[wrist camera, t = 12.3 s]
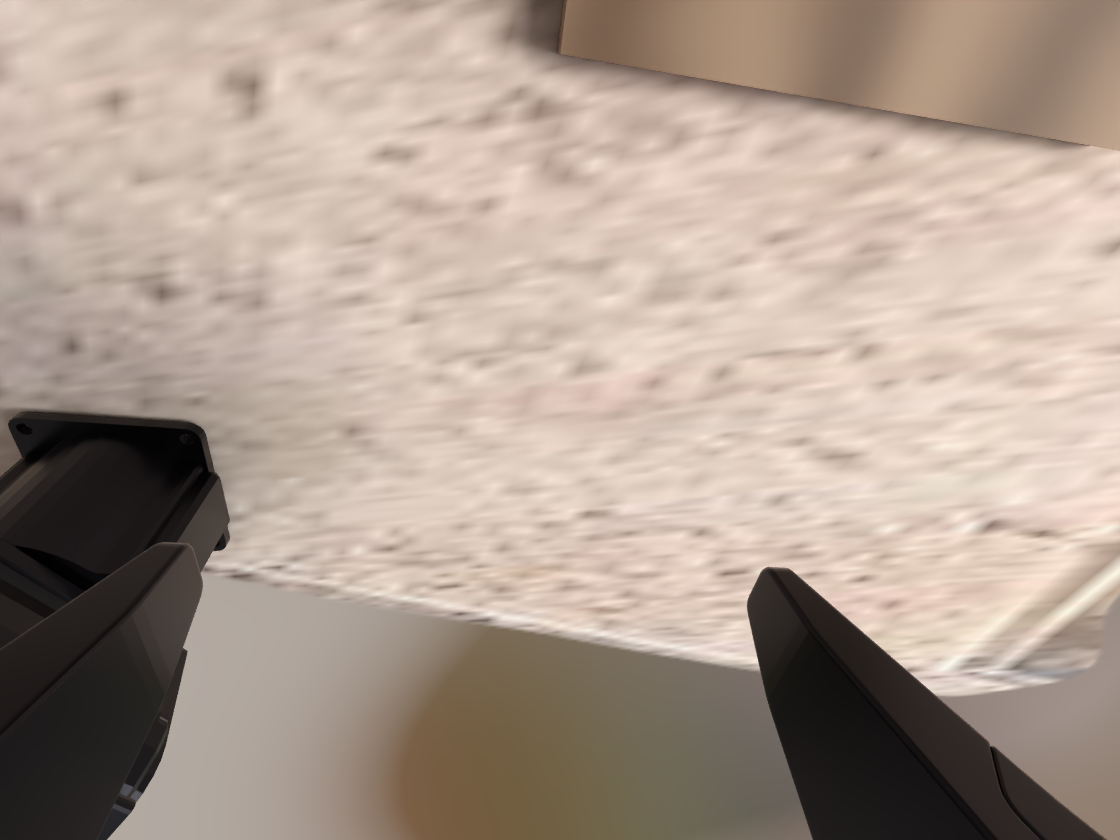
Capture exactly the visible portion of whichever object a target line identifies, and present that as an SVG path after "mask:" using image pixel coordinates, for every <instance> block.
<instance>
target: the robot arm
mask: <svg viewBox="0 0 1120 840" xmlns="http://www.w3.org/2000/svg"><path fill="white" fill-rule="evenodd" d="M26 425H28V426H30V427H31V428H30V427H28V426H26ZM8 426H9V429H10V431H11V434H12V436H13V438H14V440H15V442H16V444H17V447H18V449H19V451H20V453H21V455H22V457H23V458H21V459H20V460H19V461H18V462H17V463H16V464H15V465H13V466H12V467H11V468H10V469H9V470H8V471H7V472H5V473H4V474H3V475H2V476H1V477H0V840H107V839H108V838H109V837H110V835H111V834H112V833H113V832H114V831H115V830H116V829H117V828H118V826H119V825H120V824H121V823H122V822H123V821H124V820H125V819H126V817H127V816H128V815H129V814H130V813H131V812H132V810H133V809H134V807H135V804H136V802H137V801H138V799H139V798H140V797H141V795H142V794H143V792H144V791H145V789H146V787H147V786H148V784H149V782H150V781H151V779H152V777H153V776H154V774H155V771H156V770H157V767H158V765H159V763H160V761H161V758H162V755H163V752H164V749H165V746H166V742H167V738H168V733H169V728H170V725H171V720H172V716H173V712H174V708H175V703H176V699H177V695H178V690H179V686H180V682H181V677H182V673H183V669H184V665H185V660H186V656H187V650H185V649H184V648H183V646H184V643H185V640H186V637H187V634H188V632H189V629H190V626H191V623H192V620H193V617H194V614H195V612H196V609H197V606H198V603H199V600H200V597H201V593H202V588H203V582H202V577H201V571H202V569H203V567H204V566H205V564H206V562H207V560H208V559H209V557H210V555H211V553H212V552H213V551H220V550H223V549H224V548H225V547H226V545H227V544H228V542H229V540H230V535H229V531H228V527H227V525H228V523H229V521H230V519H229V515H228V510H227V506H226V502H225V497H224V493H223V489H222V484H221V480H220V477H219V476H218V475H217V473H216V472H215V471H214V467H213V463H212V459H211V454H210V450H209V446H208V442H207V437H206V434H205V432H204V430H203V429H202V428H201V427H199V426H197V425H195V424H192V423H182V422H168V421H153V420H139V419H124V418H110V417H95V416H81V415H66V414H52V413H37V412H21V413H19V414H17V415H16V416H15V417H14V418H12V419H11V420H10V421H9V423H8ZM185 434H187V435H190V436H192V437H193V439H191V438H188V437H187V436H186V435H185ZM747 611H748V617H749V621H750V626H751V630H752V635H753V639H754V644H755V648H756V653H757V658H758V662H759V667H760V671H761V676H762V680H763V685H764V689H765V693H766V697H767V701H768V704H769V707H770V710H771V713H772V717H773V720H774V723H775V726H776V729H777V732H778V735H779V738H780V741H781V744H782V747H783V750H784V753H785V756H786V759H787V762H788V765H789V769H790V771H791V775H792V778H793V781H794V784H795V787H796V790H797V793H798V796H799V799H800V802H801V805H802V808H803V811H804V814H805V817H806V820H807V823H808V826H809V829H810V832H811V835H812V838H813V840H1106V839H1105V838H1104V837H1103V836H1101V835H1100V834H1099V833H1098V832H1096V831H1095V830H1094V829H1093V828H1091V827H1090V826H1089V825H1088V824H1086V823H1085V822H1084V821H1082V820H1081V819H1080V818H1079V817H1078V816H1076V815H1075V814H1074V813H1073V812H1071V811H1070V810H1069V809H1068V808H1066V807H1065V806H1064V805H1063V804H1061V803H1060V802H1059V801H1058V800H1057V799H1055V798H1054V797H1053V796H1052V795H1051V794H1050V793H1048V792H1047V791H1046V790H1045V789H1044V788H1042V787H1041V786H1040V785H1039V784H1038V783H1037V782H1035V781H1034V780H1033V779H1032V778H1031V777H1029V776H1028V775H1027V774H1026V773H1025V772H1023V771H1022V770H1021V769H1020V768H1019V767H1018V766H1016V765H1015V764H1014V763H1013V762H1012V761H1011V760H1010V759H1008V758H1007V757H1006V756H1005V755H1004V754H1003V753H1001V752H1000V751H999V750H998V749H997V748H996V747H994V746H990V744H989V742H988V741H987V740H986V739H985V738H984V737H983V736H982V735H981V734H979V733H978V732H977V731H976V730H975V729H974V728H972V727H971V726H970V725H969V724H968V723H967V722H965V721H964V720H963V719H962V718H961V717H960V716H959V715H958V714H956V713H955V712H954V711H953V710H952V709H950V708H949V707H948V706H947V705H946V704H945V703H943V702H942V701H941V700H940V699H939V698H938V697H937V696H936V695H935V694H933V693H932V692H931V691H930V690H929V689H928V688H926V687H925V686H924V685H923V684H922V683H921V682H920V681H918V680H917V679H916V678H915V677H914V676H913V675H912V674H910V673H909V672H908V671H907V670H906V669H905V668H903V667H902V666H901V665H900V664H899V663H898V662H897V661H895V660H894V659H893V658H892V657H891V656H890V655H889V654H887V653H886V652H885V651H884V650H883V649H882V648H880V647H879V646H878V645H877V644H876V643H875V642H874V641H872V640H871V639H870V638H869V637H868V636H867V635H865V634H864V633H863V632H862V631H861V630H860V629H859V628H857V627H856V626H855V625H854V624H853V623H852V622H851V621H849V620H848V619H847V618H846V617H845V616H844V615H842V614H841V613H840V612H839V611H838V610H837V609H836V608H834V607H833V606H832V605H831V604H830V603H829V602H828V601H826V600H825V599H824V598H823V597H822V596H821V595H819V594H818V593H817V592H816V591H815V590H814V589H813V588H811V587H810V586H809V585H808V584H807V583H806V582H805V581H803V580H802V579H801V578H800V577H799V576H798V575H796V574H795V573H794V572H793V571H791V570H790V569H788V568H779V567H766V568H765V569H763V570H762V571H761V573H760V575H759V577H758V579H757V581H756V583H755V585H754V587H753V589H752V591H751V593H750V595H749V598H748V602H747Z"/></svg>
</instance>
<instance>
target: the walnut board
mask: <svg viewBox="0 0 1120 840" xmlns="http://www.w3.org/2000/svg"><path fill="white" fill-rule="evenodd" d="M557 53H558V54H562V55H568V56H573V57H579V58H585V59H591V60H597V61H602V62H608V63H614V64H620V65H626V66H632V67H637V68H643V69H649V70H655V71H661V72H666V73H672V74H678V75H684V76H690V77H695V78H701V79H707V80H713V81H719V82H724V83H730V84H736V85H742V86H748V87H753V88H759V89H765V90H771V91H777V92H782V93H788V94H794V95H800V96H806V97H811V98H817V99H823V100H829V101H835V102H840V103H846V104H852V105H858V106H864V107H869V108H875V109H881V110H887V111H893V112H899V113H904V114H910V115H916V116H922V117H928V118H933V119H939V120H945V121H951V122H957V123H962V124H968V125H974V126H980V127H986V128H991V129H997V130H1003V131H1009V132H1015V133H1020V134H1026V135H1032V136H1038V137H1044V138H1049V139H1055V140H1061V141H1067V142H1073V143H1078V144H1084V145H1090V146H1096V147H1102V148H1107V149H1113V150H1119V151H1120V0H563V7H562V16H561V24H560V32H559V41H558V49H557Z"/></svg>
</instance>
